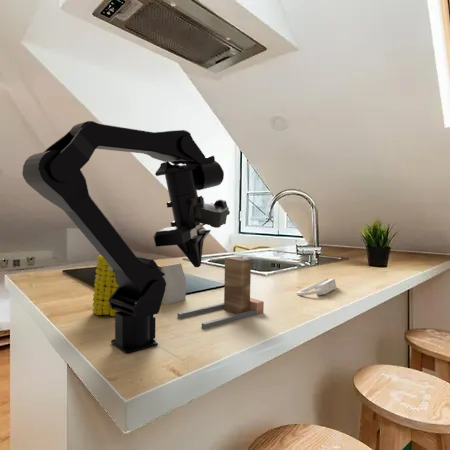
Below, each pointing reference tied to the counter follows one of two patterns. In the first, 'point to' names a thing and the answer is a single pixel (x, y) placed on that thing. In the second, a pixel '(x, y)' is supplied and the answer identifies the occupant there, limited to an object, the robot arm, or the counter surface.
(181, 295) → the tea bag
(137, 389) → the counter surface
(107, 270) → the food
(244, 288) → the brown wooden tall block
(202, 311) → the twin grey rails
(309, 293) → the oval loop handle
